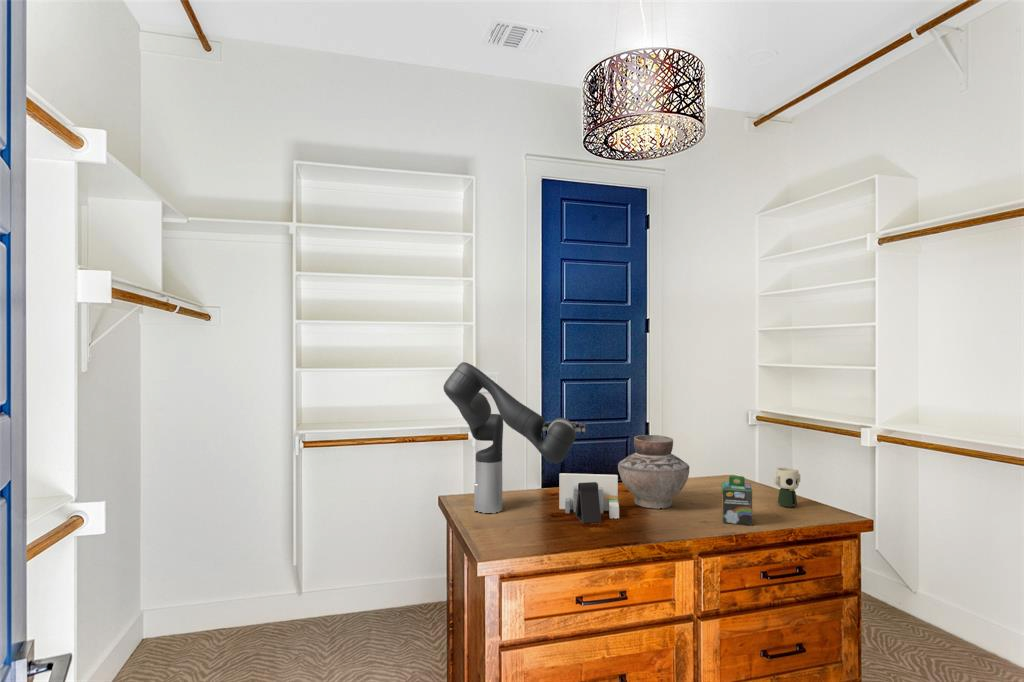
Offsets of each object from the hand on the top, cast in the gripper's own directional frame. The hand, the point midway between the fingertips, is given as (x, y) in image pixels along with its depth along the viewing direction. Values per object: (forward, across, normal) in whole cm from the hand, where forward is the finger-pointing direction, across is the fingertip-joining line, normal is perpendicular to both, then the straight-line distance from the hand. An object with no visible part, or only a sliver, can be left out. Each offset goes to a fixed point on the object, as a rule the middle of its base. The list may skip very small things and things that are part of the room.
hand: (562, 424), depth 187 cm
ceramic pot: (+29, +31, -32) cm, 53 cm away
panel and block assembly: (+16, +8, -32) cm, 37 cm away
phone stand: (+8, +8, -32) cm, 34 cm away
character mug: (+33, +78, -32) cm, 91 cm away
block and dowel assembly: (+16, +10, -32) cm, 37 cm away
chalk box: (+13, +56, -32) cm, 66 cm away
